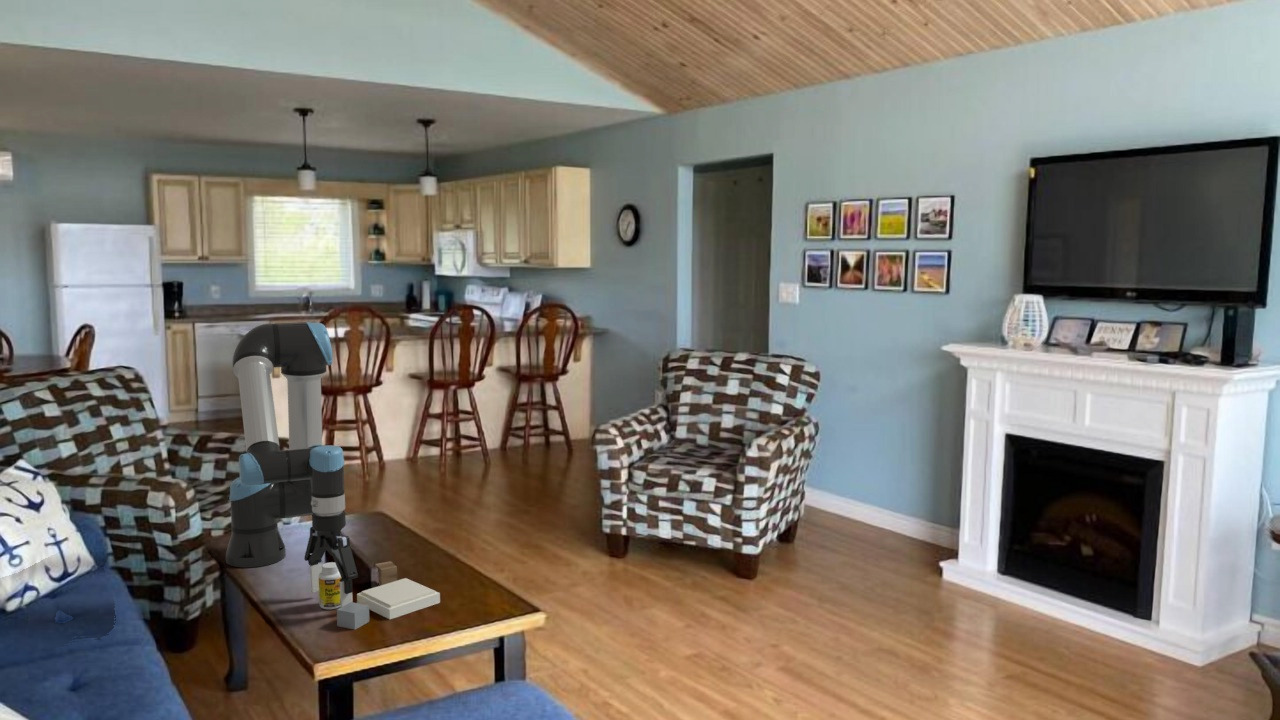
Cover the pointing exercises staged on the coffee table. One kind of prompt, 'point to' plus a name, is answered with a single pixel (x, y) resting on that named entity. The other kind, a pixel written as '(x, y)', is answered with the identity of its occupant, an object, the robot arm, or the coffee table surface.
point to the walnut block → (387, 572)
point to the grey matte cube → (353, 615)
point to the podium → (398, 598)
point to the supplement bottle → (329, 586)
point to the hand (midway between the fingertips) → (331, 598)
